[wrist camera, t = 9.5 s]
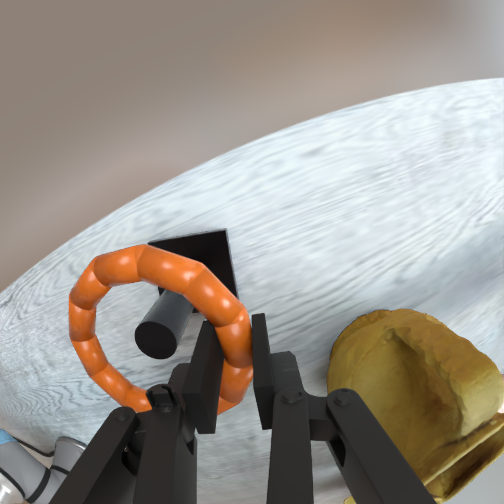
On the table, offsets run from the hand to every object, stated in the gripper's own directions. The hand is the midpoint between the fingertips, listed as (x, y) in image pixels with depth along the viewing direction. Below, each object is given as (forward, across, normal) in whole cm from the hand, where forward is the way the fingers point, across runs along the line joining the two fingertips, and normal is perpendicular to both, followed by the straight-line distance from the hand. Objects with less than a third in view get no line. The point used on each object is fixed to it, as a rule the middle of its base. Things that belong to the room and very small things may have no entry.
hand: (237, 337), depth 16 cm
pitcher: (+16, -16, +14) cm, 27 cm away
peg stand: (+16, +6, 0) cm, 17 cm away
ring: (0, +6, 0) cm, 6 cm away
